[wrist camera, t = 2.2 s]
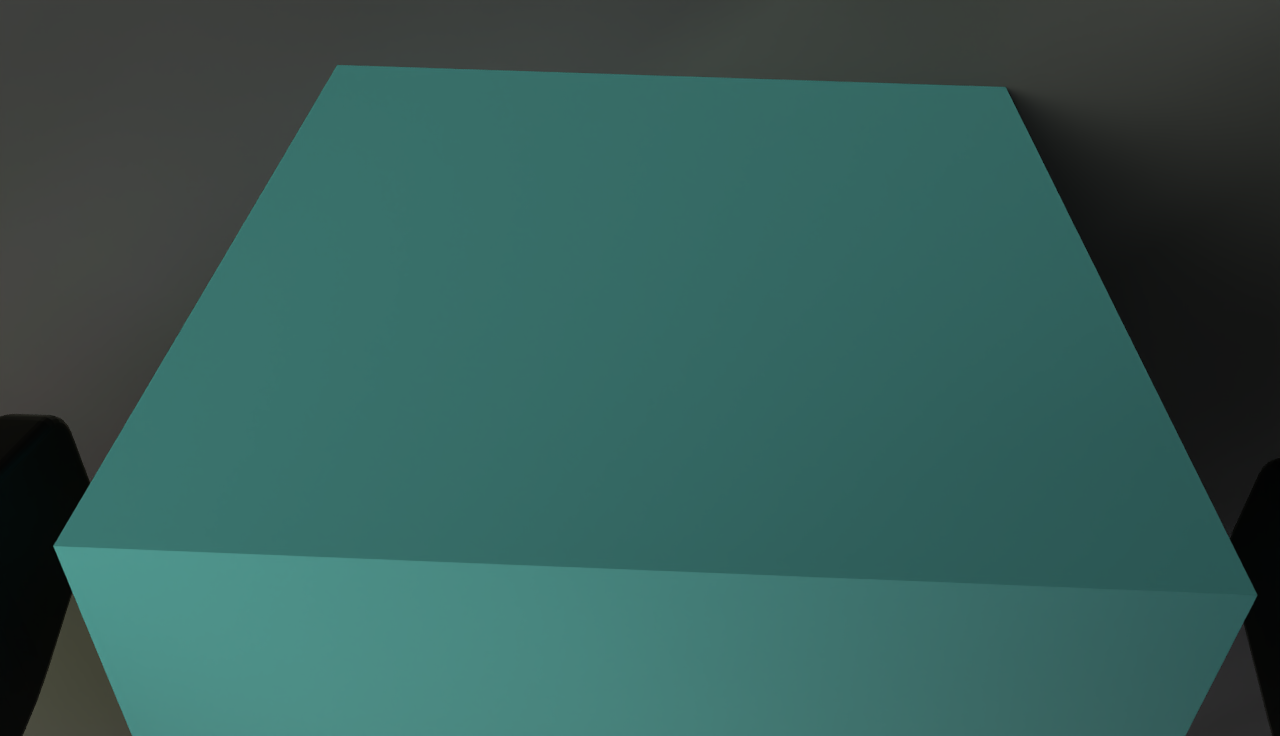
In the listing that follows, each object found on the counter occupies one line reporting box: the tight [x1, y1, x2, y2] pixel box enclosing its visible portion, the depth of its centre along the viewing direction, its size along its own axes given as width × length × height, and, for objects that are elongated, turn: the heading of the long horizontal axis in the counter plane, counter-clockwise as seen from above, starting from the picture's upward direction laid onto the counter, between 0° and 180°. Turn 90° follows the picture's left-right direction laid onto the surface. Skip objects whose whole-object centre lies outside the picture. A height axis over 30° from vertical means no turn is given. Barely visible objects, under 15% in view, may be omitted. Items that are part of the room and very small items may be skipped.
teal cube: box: [53, 65, 1257, 736], centre depth 8 cm, size 5×5×5 cm
